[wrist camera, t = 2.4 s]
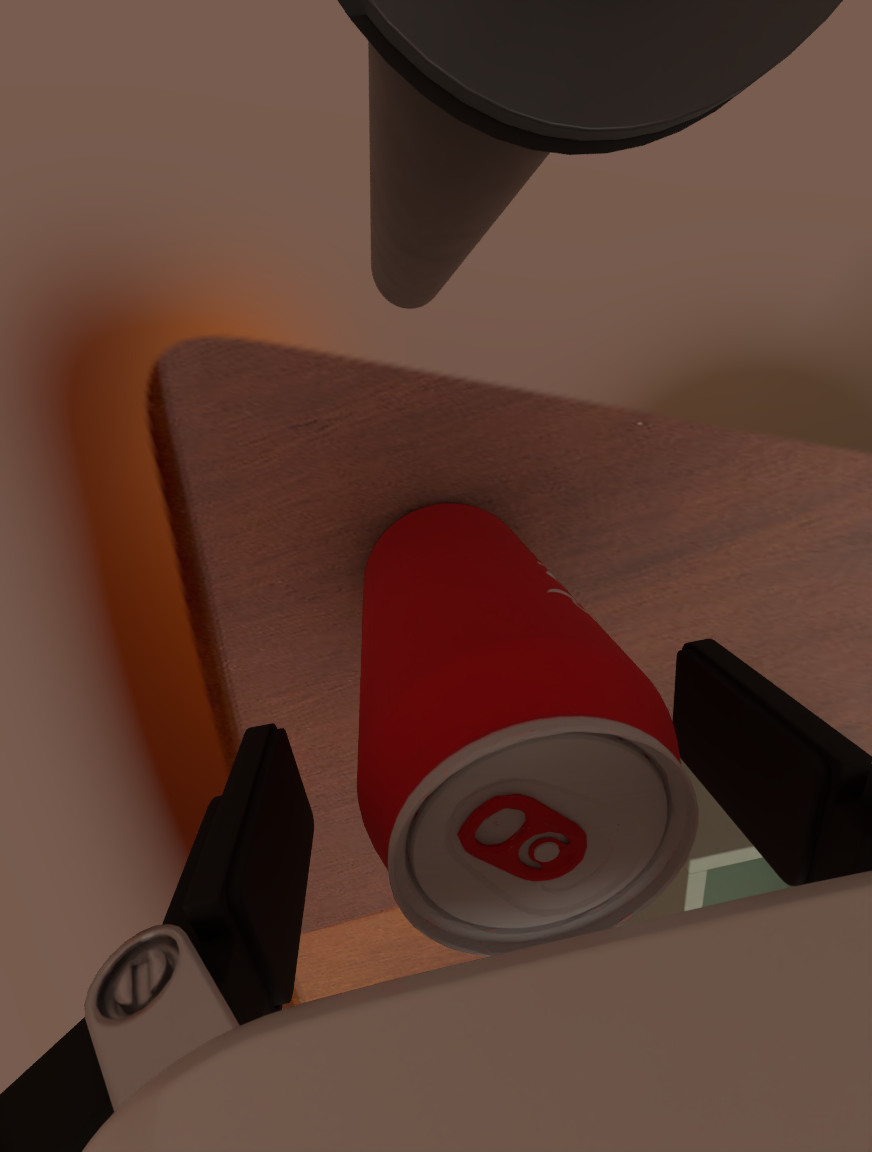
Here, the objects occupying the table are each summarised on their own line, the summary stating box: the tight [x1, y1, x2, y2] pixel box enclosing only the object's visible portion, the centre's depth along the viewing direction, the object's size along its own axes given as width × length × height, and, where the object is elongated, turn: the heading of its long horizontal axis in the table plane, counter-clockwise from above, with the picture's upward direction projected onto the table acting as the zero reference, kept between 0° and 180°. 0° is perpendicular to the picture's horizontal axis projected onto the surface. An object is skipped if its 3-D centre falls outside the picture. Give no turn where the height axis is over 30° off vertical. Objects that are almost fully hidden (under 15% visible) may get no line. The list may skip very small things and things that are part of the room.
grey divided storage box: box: [620, 758, 794, 926], centre depth 25 cm, size 18×9×6 cm, turn 8°
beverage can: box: [357, 503, 699, 957], centre depth 13 cm, size 6×6×12 cm
